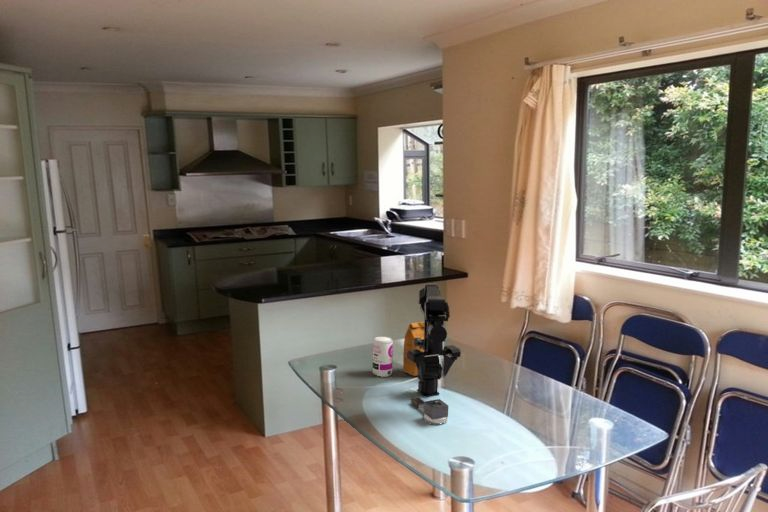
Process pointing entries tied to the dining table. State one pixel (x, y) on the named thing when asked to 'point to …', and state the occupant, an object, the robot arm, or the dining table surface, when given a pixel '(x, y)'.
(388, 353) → the supplement can
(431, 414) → the socket
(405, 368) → the coffee package
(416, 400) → the ratchet
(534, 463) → the dining table surface
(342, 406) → the dining table surface
